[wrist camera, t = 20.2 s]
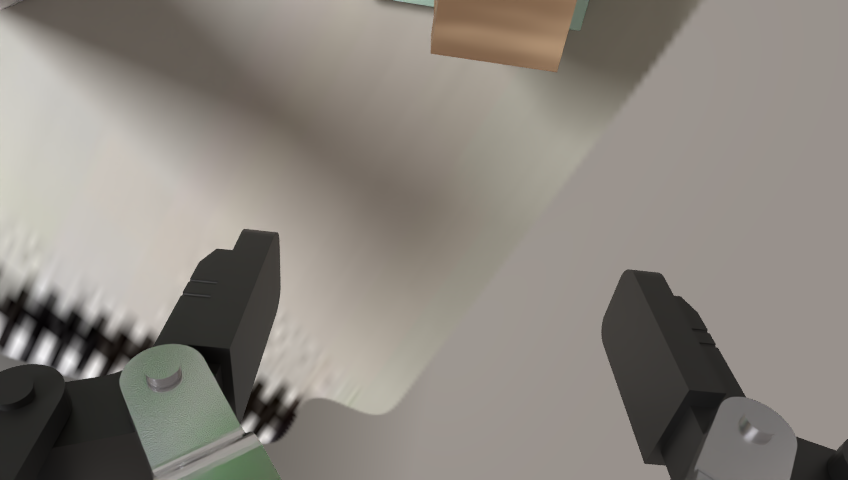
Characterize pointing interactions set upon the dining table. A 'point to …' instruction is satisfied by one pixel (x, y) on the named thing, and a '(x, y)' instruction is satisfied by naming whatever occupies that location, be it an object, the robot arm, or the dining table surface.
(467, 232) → the dining table surface
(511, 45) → the stool
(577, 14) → the mat
